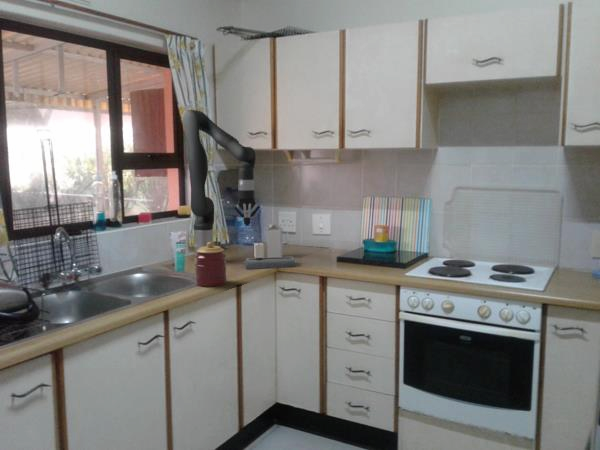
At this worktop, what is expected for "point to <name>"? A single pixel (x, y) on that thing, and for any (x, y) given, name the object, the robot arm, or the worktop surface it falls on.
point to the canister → (210, 266)
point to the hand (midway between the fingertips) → (247, 225)
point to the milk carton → (274, 241)
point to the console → (269, 262)
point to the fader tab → (259, 251)
